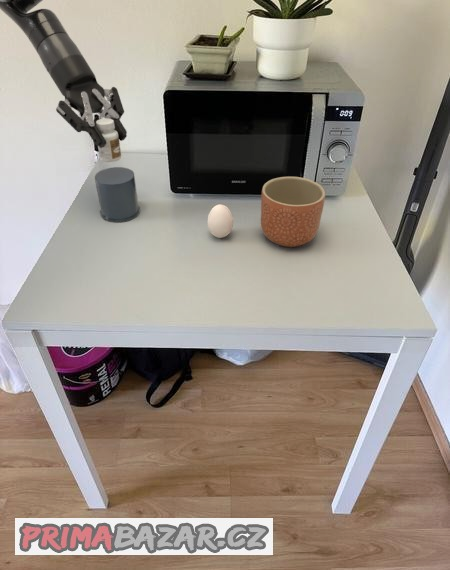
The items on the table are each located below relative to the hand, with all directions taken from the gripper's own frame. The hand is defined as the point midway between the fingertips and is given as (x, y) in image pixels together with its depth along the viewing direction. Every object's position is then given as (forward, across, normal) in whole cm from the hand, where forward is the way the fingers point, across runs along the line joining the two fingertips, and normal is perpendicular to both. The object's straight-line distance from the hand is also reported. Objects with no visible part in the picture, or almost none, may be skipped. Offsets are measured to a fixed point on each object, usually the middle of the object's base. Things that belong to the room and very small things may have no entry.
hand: (113, 141), depth 89 cm
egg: (+27, +8, -3) cm, 29 cm away
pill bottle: (+2, 0, +4) cm, 5 cm away
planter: (+35, +17, -11) cm, 41 cm away
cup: (+11, 0, +13) cm, 17 cm away
